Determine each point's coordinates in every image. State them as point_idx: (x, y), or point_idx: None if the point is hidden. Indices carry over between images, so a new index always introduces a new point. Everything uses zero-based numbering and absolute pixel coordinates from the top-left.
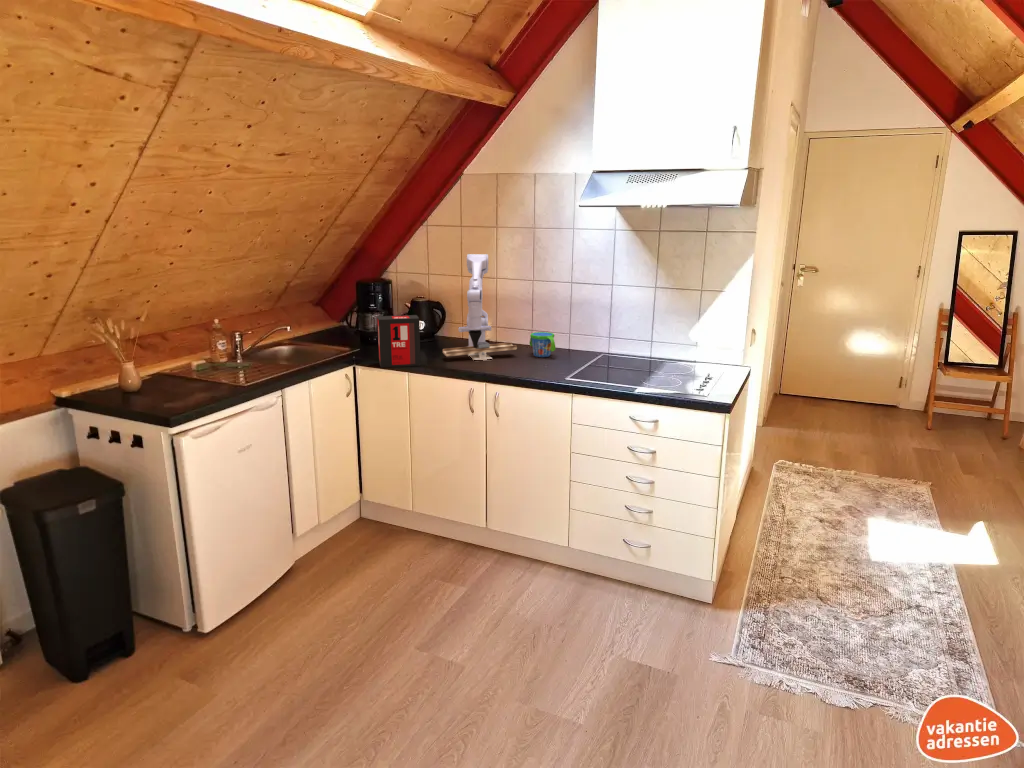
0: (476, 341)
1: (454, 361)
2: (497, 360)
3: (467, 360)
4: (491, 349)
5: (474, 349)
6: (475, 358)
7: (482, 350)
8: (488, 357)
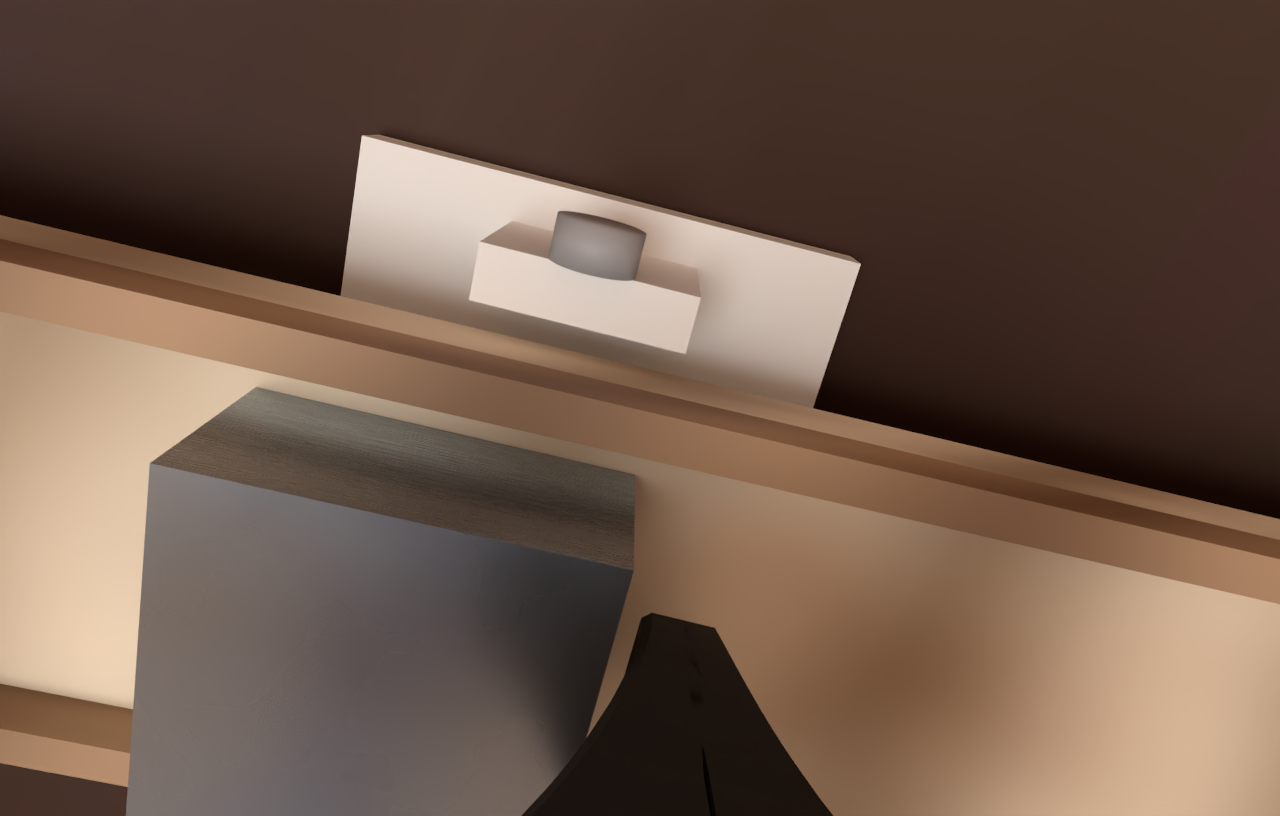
0: (680, 735)
1: (1277, 470)
2: (269, 4)
3: (954, 408)
4: (222, 291)
5: (824, 473)
6: (787, 332)
7: (553, 369)
8: (419, 262)
